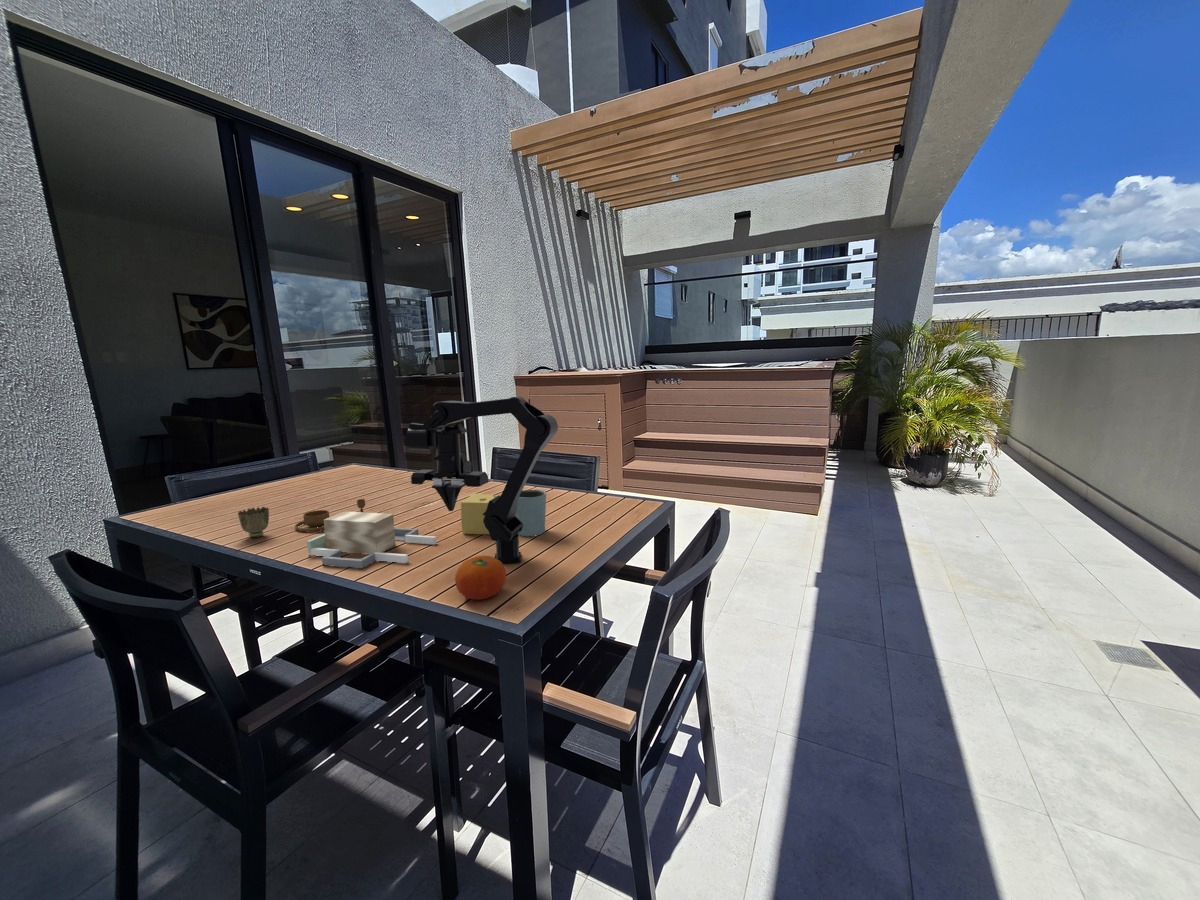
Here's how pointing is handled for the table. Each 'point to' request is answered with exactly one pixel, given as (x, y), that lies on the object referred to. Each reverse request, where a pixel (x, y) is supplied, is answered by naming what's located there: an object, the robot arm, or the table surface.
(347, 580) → the table surface
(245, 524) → the cup
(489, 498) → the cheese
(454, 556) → the table surface
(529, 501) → the blue-gray cylindrical container
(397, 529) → the low angular wall frame
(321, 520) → the place setting
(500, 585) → the fruit
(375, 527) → the birch block
